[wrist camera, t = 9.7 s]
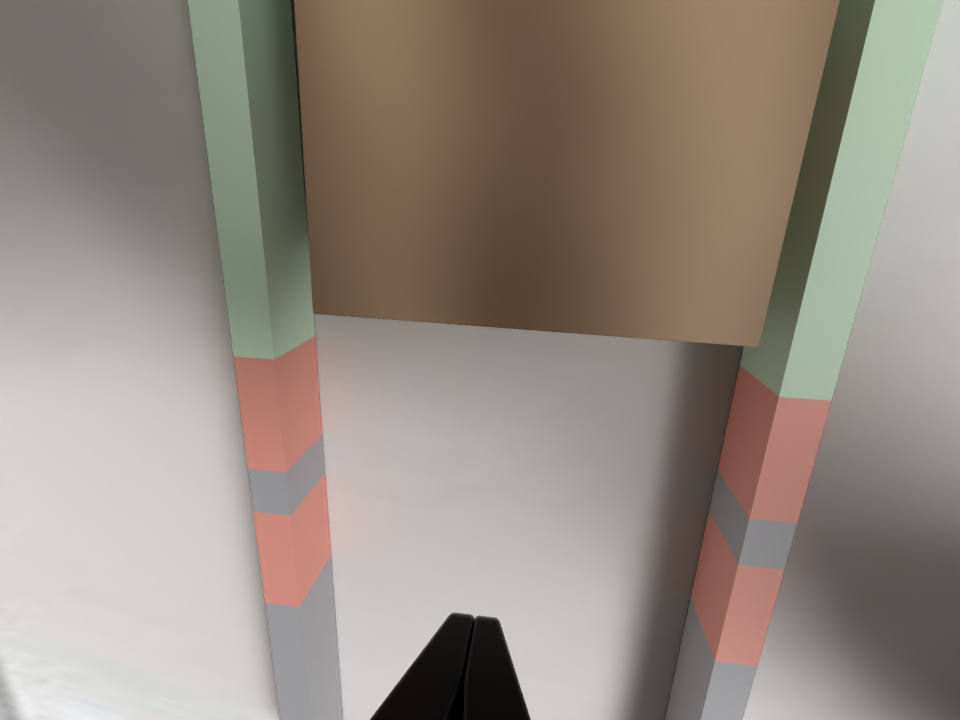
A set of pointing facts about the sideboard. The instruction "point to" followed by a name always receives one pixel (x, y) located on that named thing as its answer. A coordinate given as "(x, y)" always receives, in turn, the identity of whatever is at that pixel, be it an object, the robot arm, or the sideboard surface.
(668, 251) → the tan block
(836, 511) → the sideboard surface
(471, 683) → the robot arm
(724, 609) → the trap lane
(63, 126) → the sideboard surface
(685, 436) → the sideboard surface
